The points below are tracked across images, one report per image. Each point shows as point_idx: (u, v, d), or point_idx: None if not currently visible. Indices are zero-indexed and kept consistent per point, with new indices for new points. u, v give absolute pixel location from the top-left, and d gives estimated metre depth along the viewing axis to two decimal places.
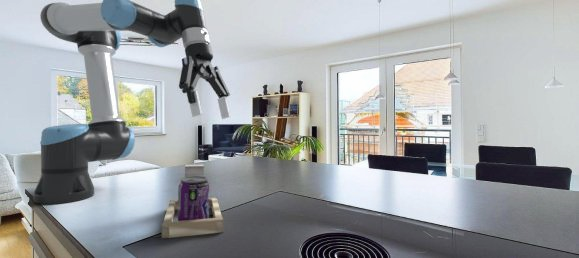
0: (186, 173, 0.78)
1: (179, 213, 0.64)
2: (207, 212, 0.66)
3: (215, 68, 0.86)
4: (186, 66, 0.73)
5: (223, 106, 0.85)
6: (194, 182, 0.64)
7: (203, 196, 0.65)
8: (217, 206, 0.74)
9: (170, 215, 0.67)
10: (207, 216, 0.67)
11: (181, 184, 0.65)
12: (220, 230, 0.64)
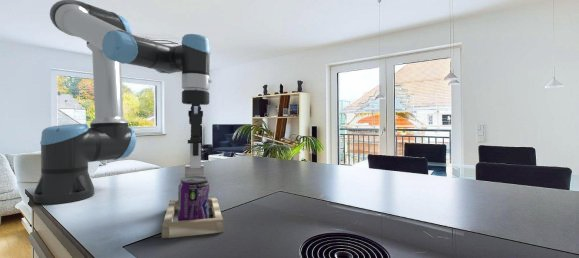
0: (186, 173, 0.78)
1: (179, 213, 0.64)
2: (207, 212, 0.66)
3: None
4: (197, 117, 0.72)
5: None
6: (194, 182, 0.64)
7: (203, 196, 0.65)
8: (217, 206, 0.74)
9: (170, 215, 0.67)
10: (207, 216, 0.67)
11: (181, 184, 0.65)
12: (220, 230, 0.64)
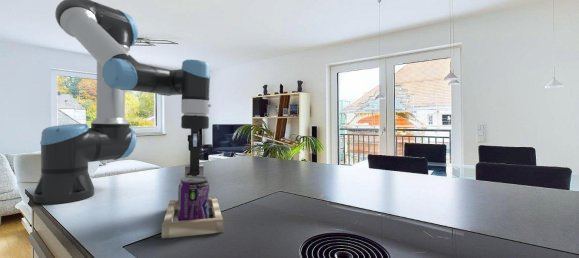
0: (186, 173, 0.78)
1: (179, 213, 0.64)
2: (207, 212, 0.66)
3: None
4: (196, 151, 0.74)
5: None
6: (194, 182, 0.64)
7: (203, 196, 0.65)
8: (217, 206, 0.74)
9: (170, 215, 0.67)
10: (207, 216, 0.67)
11: (181, 184, 0.65)
12: (220, 230, 0.64)
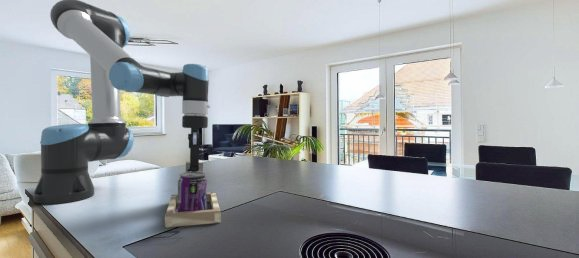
0: None
1: (179, 206, 0.70)
2: (205, 204, 0.72)
3: None
4: (195, 148, 0.80)
5: None
6: (194, 177, 0.69)
7: (202, 189, 0.70)
8: (216, 200, 0.80)
9: (172, 207, 0.73)
10: (205, 208, 0.72)
11: (181, 179, 0.70)
12: (218, 220, 0.70)
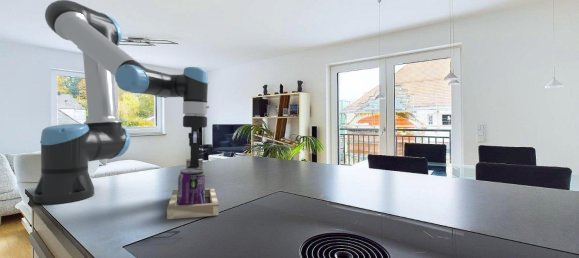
0: (187, 166, 0.89)
1: (180, 200, 0.75)
2: (204, 198, 0.78)
3: None
4: (195, 146, 0.86)
5: None
6: (194, 173, 0.75)
7: (201, 184, 0.76)
8: (214, 195, 0.86)
9: (174, 201, 0.78)
10: (204, 202, 0.78)
11: (182, 175, 0.75)
12: (216, 213, 0.75)
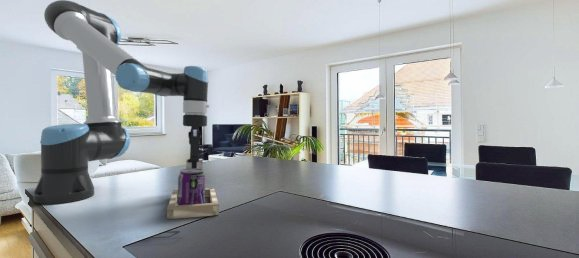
0: (187, 166, 0.89)
1: (180, 200, 0.75)
2: (204, 198, 0.78)
3: None
4: (195, 139, 0.84)
5: None
6: (194, 173, 0.75)
7: (201, 184, 0.76)
8: (214, 195, 0.86)
9: (174, 201, 0.78)
10: (204, 202, 0.78)
11: (182, 175, 0.75)
12: (216, 213, 0.75)
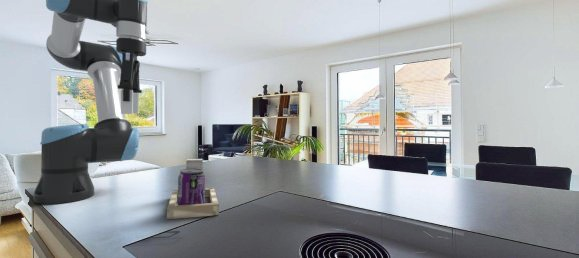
0: (187, 166, 0.89)
1: (180, 200, 0.75)
2: (204, 198, 0.78)
3: None
4: (128, 63, 0.73)
5: (134, 102, 0.87)
6: (194, 173, 0.75)
7: (201, 184, 0.76)
8: (214, 195, 0.86)
9: (174, 201, 0.78)
10: (204, 202, 0.78)
11: (182, 175, 0.75)
12: (216, 213, 0.75)
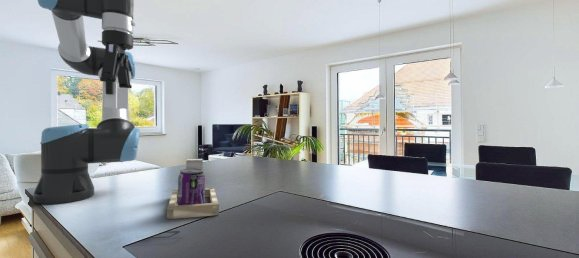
0: (187, 166, 0.89)
1: (180, 200, 0.75)
2: (204, 198, 0.78)
3: None
4: (111, 55, 0.71)
5: (123, 97, 0.84)
6: (194, 173, 0.75)
7: (201, 184, 0.76)
8: (214, 195, 0.86)
9: (174, 201, 0.78)
10: (204, 202, 0.78)
11: (182, 175, 0.75)
12: (216, 213, 0.75)
